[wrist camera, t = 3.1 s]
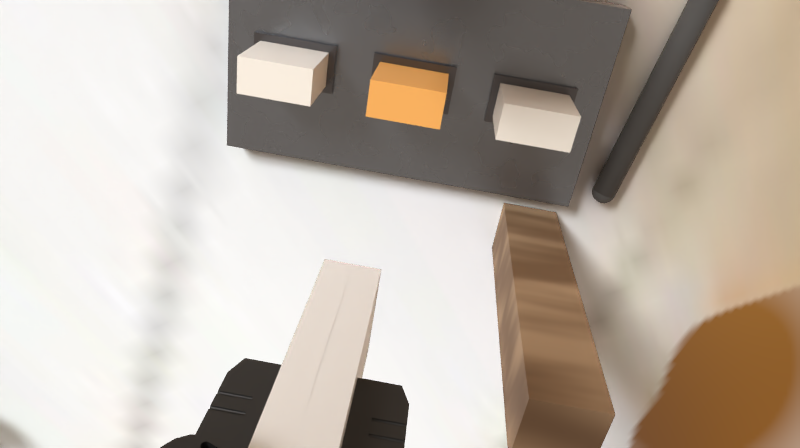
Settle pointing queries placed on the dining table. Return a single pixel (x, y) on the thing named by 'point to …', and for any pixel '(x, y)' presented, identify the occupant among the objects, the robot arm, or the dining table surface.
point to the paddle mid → (407, 95)
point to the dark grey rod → (653, 97)
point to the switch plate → (441, 52)
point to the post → (545, 338)
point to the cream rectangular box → (535, 118)
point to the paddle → (282, 73)
